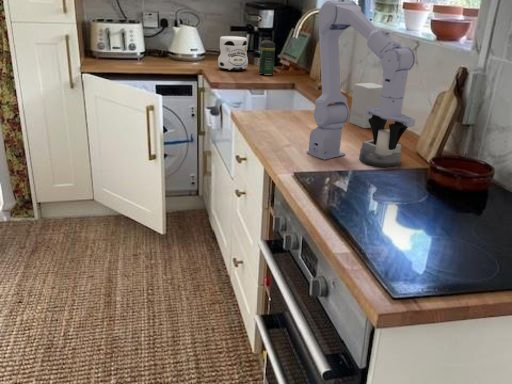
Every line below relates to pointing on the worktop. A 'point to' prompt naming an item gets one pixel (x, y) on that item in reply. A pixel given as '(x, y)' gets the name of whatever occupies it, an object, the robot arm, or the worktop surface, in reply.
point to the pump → (383, 142)
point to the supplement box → (364, 102)
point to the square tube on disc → (379, 156)
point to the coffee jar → (267, 57)
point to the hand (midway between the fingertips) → (384, 146)
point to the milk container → (233, 53)
